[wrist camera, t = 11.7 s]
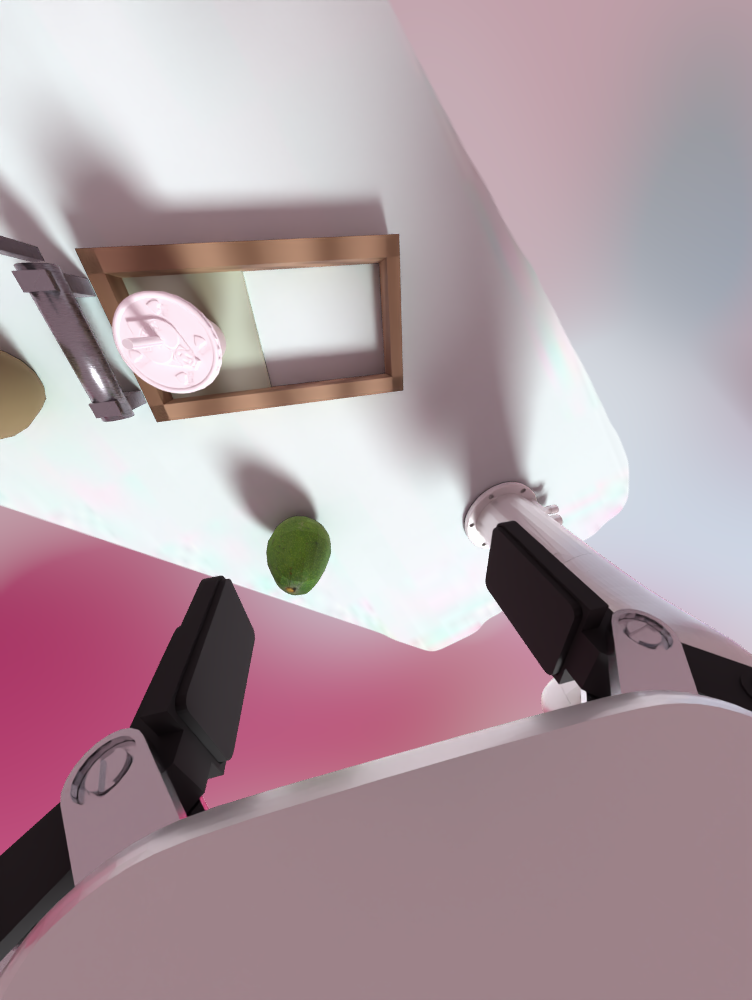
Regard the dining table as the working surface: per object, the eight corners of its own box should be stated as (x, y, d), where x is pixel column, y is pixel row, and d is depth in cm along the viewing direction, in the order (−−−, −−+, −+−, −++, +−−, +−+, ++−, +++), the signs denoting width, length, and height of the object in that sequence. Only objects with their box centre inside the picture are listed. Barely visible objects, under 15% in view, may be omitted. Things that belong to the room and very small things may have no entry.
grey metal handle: (79, 255, 24) (-3, 229, 17) (150, 406, 30) (109, 428, 24) (46, 257, 24) (-51, 231, 17) (125, 409, 30) (76, 432, 23)
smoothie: (182, 282, 26) (86, 246, 14) (253, 333, 29) (221, 338, 17) (155, 347, 28) (50, 364, 16) (224, 388, 31) (178, 428, 19)
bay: (390, 242, 28) (399, 234, 25) (395, 385, 35) (403, 390, 32) (98, 256, 24) (74, 248, 22) (168, 414, 31) (156, 422, 28)
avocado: (278, 497, 39) (271, 558, 29) (334, 511, 42) (346, 570, 32) (263, 544, 42) (252, 613, 32) (317, 554, 45) (322, 620, 35)
